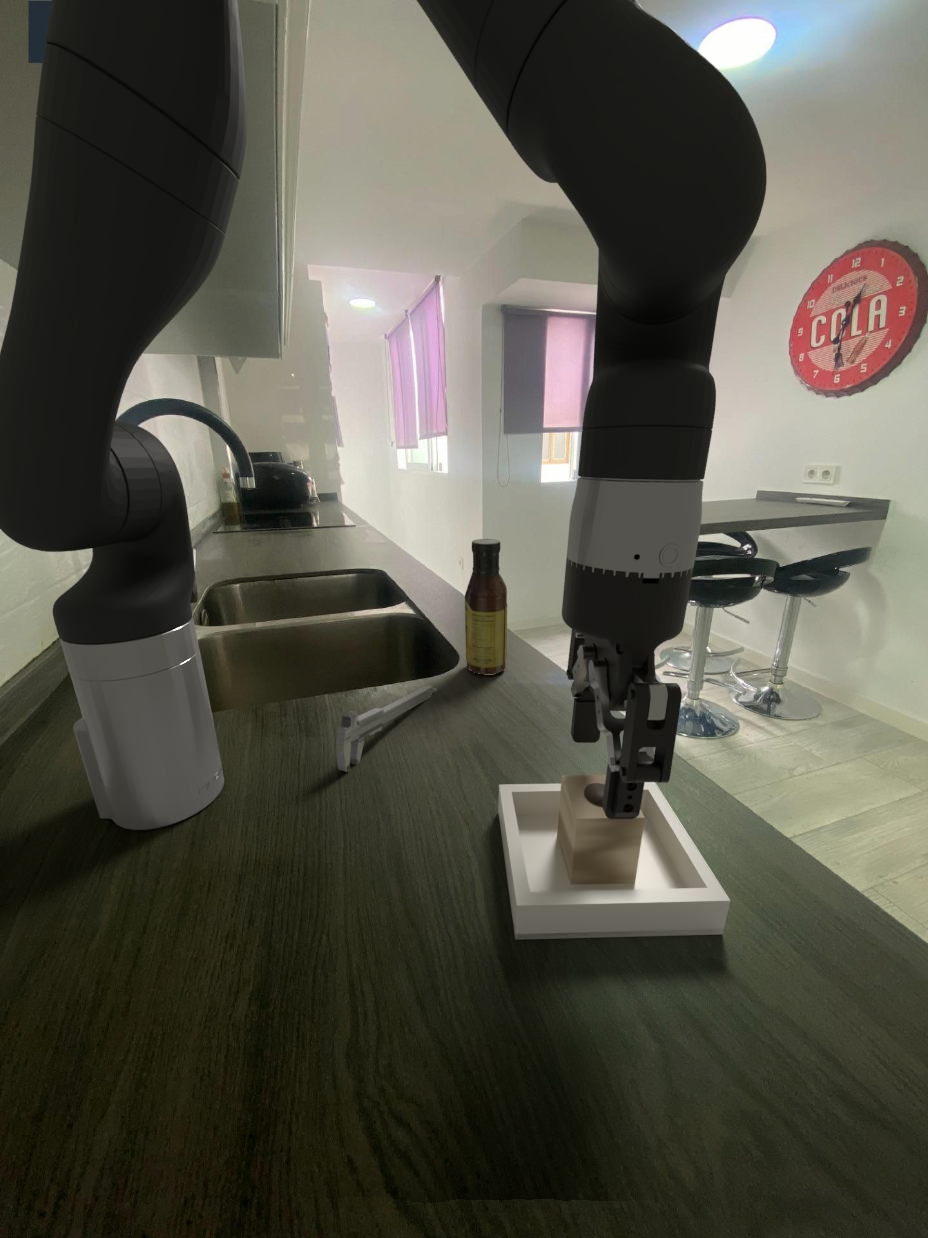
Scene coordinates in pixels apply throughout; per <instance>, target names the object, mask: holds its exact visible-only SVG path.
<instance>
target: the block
mask: <svg viewBox="0 0 928 1238" xmlns="http://www.w3.org/2000/svg"><path fill="white" fill-rule="evenodd" d="M605 780H606V774H576V775H575V774H570V775H569V774H562V775H561V782H560V783H561V792H560V805H559V818H558V831H557V837H558V841H559V844H560V848H561V851H562V855H563V859H564V862H565V866H566V869H567V873H568V877H569V880H570V884H571V885H575V884H629V883H635V880H636V873H637V867H638V860H639V853H640V847H641V840H642V833H643V827H644V820H645V817H644V815H643V813H642V811H641V810H640V813H639V815H638V816H637V817H636V818H634V819H609V818H607V817H606V815H605V812H604V810H603V808H602V803H603V795H604V788H605Z"/></svg>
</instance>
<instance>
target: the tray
mask: <svg viewBox="0 0 928 1238" xmlns="http://www.w3.org/2000/svg"><path fill="white" fill-rule="evenodd" d="M560 792H561V782H560V783H523V784H522V783H514V784H513V783H512V784H510V783H509V784H507V783H506V784H498V808H497V810H498V812H497V814H498V820H499V827H500V828H499V829H500V834H501V841H502V842H501V843H502V849H503V856H504V857H503V859H504V865H505V872H506V879H507V888H508V895H509V902H510V910H511V916H512V917H511V918H512V924H513V931H514V940H518V941H519V940H550V939H551V940H552V939H554V940H555V939H587V938H588V939H591V938H593V939H594V938H596V939H597V938H599V939H600V938H626V937H627V938H629V937H633V938H634V937H635V938H637V937H667V936H668V937H672V936H674V937H676V936H677V937H678V936H708V935H710V936H711V935H723V933H724V929H725V925H726V921H727V917H728V914H729V913H728V912H729V908H730V904H731V899H730V898H729V896H728V895H727V893H726V891H725V889H724V888H723V887H722V885H721V883H720V882H719V881H718V878H717V877H716V876H715V874H714V873H713V871H712V869H711V868H710V866H709V865H708V863H707V862H706V860H705V858H704V857H703V855H702V854H701V852H700V850H699V849H698V847H697V846H696V844H695V843H694V841H693V840H692V838H691V837H690V835H689V834H688V832H687V830H686V829H685V827H684V826H683V824H682V823H681V821H680V819H679V818H678V816H677V814H676V813H675V812H674V809H673V808H672V807H671V805H670V804H669V802H668V801H667V799H666V797H665V796H664V793H662V791H661V789H660V788H659V786H658V785H657V782H645V783H644V789H643V795H642V801H641V807H640V810H641V811H642V813H643V815H644V817H645V820H644V827H643V833H642V840H641V847H640V853H639V860H638V867H637V873H636V880H635V883H629V884H575V885H571V884H570V880H569V877H568V873H567V869H566V866H565V862H564V859H563V855H562V851H561V848H560V844H559V841H558V837H557V831H558V818H559V805H560Z"/></svg>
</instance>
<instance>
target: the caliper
mask: <svg viewBox="0 0 928 1238" xmlns="http://www.w3.org/2000/svg"><path fill="white" fill-rule="evenodd" d="M436 689H437V688H436V687H434V686H431V685H424V686H423V687H421V688H419V689H417V690H415V691H413V692H411V693H408V694H407V695H405V696H403V697H401V698H399V699H398V700H395V701H393V702H391V703H390V704H387V705H385V706H384V707H381V708H379V707H374V708H372V709H371V710H367V711H366V712H364V713H362V714H359V713H358V712H356V711H351V710H349V712H348V714H347V715H346V714H341V724H340V725H339V726H337V732H336V740H335V743H336V744H335V750H336V761H337V763H336V764H337V769H338V770H339V771H341V772H345V773H349V772H350V764H352V765H358V764H360V762H361V760H362V759H361V758H362V754H363V748H364V745H365V740H366V738H367V737H375V736H376V735H377V734H378V733H379V734H380V733H382V732H383V727H384V726H383V725H384V724H387V723H388V722H390V721H392V720H393V719H395V718H397V717H398V716H401V715H402V714H404V713H405V712H407V711H410V710H411V709H413V708H415V707H417V706H418V705H420V704H422V703H424V702H425V700H426V699H427V698H428V697H429V696H431V694H432V693H433V692H434V691H435V690H436ZM434 693H435V692H434ZM434 693H433V694H434ZM431 697H432V696H431ZM429 698H430V697H429ZM429 698H428V699H429ZM428 699H427V700H428ZM427 700H426V701H427Z"/></svg>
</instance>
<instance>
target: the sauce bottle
mask: <svg viewBox="0 0 928 1238" xmlns="http://www.w3.org/2000/svg"><path fill="white" fill-rule="evenodd" d="M501 547H502V546H501V541H500V540H499V539H495V538H478V539H477V538H476V539H474V540H472V541H471V552H472V563H473V564H472V573H471V575H470V578H469V582H468V584H467V588H466V591H465V593H464V619H465V620H464V624H465V625H464V626H465V628H464V629H465V630H464V631H465V660H466V667H467V668H469V669H470V670H472V671H473V672H475V673H480V674H494V673H497V672H500V671H502V670H504V669H505V670H506V666H507V665H506V664H507V663H506V661H507V656H508V651H507V650H508V603H507V602H508V590H507V589H508V587H507V585H506V583H505V581H504V579H503V578H502V576H501V574H500V552H501ZM469 669H468V670H469ZM505 670H504V671H505ZM472 671H471V672H472ZM473 672H472V673H473ZM475 673H474V674H475Z"/></svg>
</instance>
